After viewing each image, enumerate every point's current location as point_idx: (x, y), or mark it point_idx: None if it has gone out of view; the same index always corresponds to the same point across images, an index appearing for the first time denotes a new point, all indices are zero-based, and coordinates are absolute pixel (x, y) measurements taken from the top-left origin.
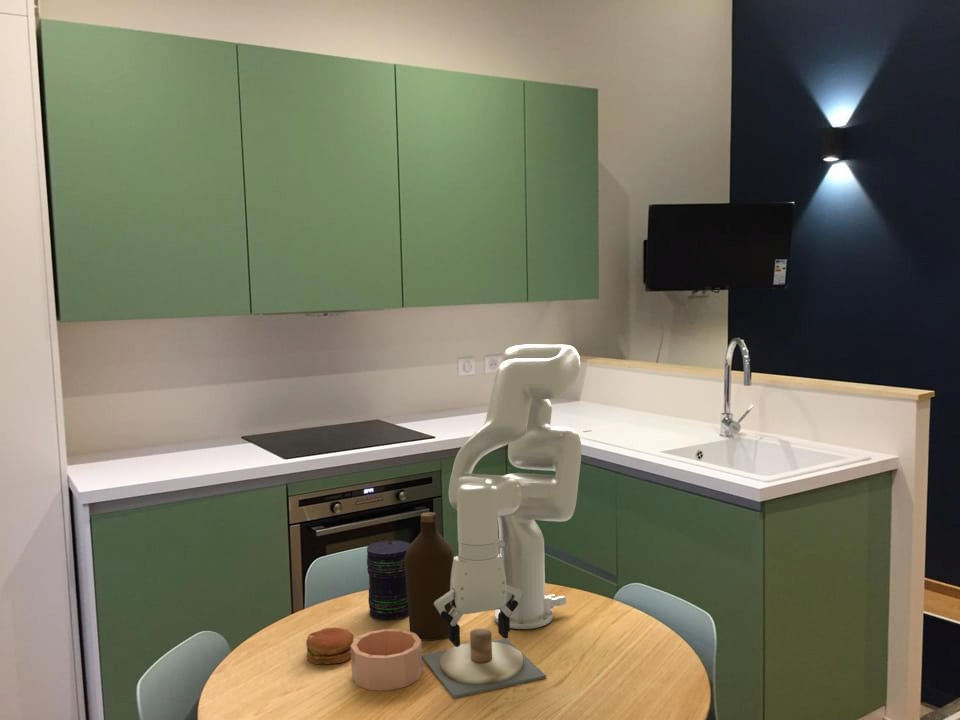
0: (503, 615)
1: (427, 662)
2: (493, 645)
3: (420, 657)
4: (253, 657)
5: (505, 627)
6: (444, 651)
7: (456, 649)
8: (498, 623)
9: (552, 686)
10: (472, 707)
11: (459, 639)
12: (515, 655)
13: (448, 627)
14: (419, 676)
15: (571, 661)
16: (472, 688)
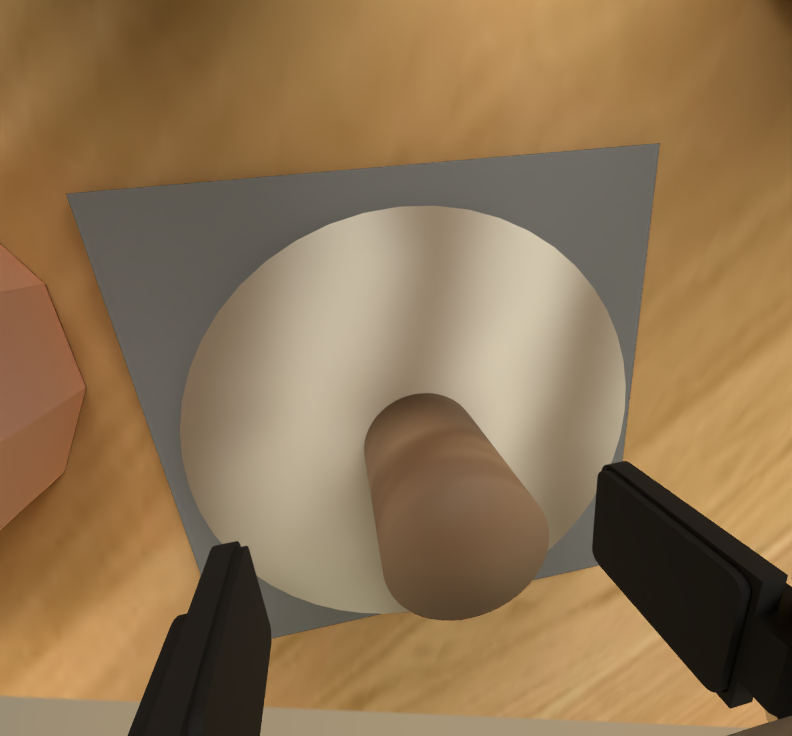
0: (751, 689)
1: (112, 321)
2: (540, 304)
3: (6, 469)
4: None
5: (656, 624)
6: (242, 194)
7: (310, 286)
8: (656, 521)
9: (591, 603)
10: (291, 688)
11: (262, 688)
12: (585, 450)
13: (133, 726)
14: (67, 452)
15: (751, 456)
16: (316, 609)
